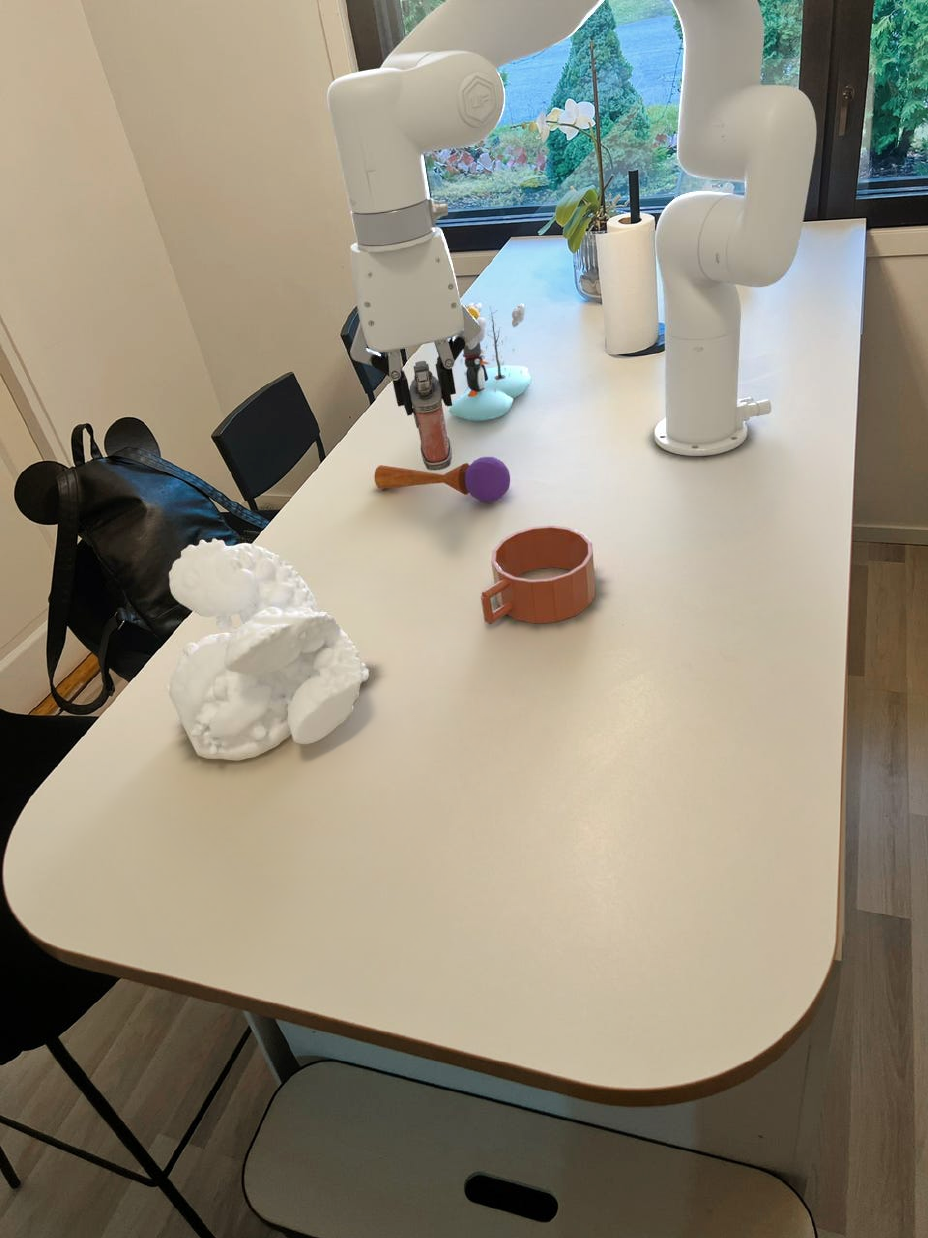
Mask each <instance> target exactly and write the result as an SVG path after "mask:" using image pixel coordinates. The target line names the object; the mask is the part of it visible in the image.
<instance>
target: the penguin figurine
mask: <svg viewBox="0 0 928 1238" xmlns="http://www.w3.org/2000/svg"><path fill="white" fill-rule="evenodd" d="M463 306H464V307H465V308H466V309H467V310H468V311H469V313H470V314H471V315H472V316H473V317H474V319H475V320H476V321H477V322H478V324H479V325H480V327H481V331H480V333H479V334H478V335H477V336H475V337H474V338H473V339H472V340H471V341H470V342H469V343H467V344H466V345H465V347H464V349H463V350H462V352H463V354H462V357H463V358H464V366H465V367H466V370H465V371H464V374H463V375H464V377H466V384H467V387H466V389H465V391H464V392H463V393H462V394H461V395H460V396H458V397H456V399H454V400H453V401H452V406H449V409H448V413H449V414H451V415H453V416H457V417H459V418H463V419H465V420H468V421H473V422H474V421H476V422H480V421H489V420H494V419H497V418H500V417H502V416H504V415H505V414H506V413H507V412H509V410H510V409H511V407H512V405H513V402H514V398H516V397H519V396H520V395H522V394H523V393H525V392H526V390H528V388H530V385H531V382H532V377H531V376H530V374H529V369H528V368H527V367H526V366H523V365H505V361H503V360H502V358H503V356H502V354H500V353H501V351H500V352H498V344H497V343H498V342H499V341H498V340H499V337H500V329H501V327H499V329H498V330H497V331H496V332H495V322H494V317H493V316H491V318H489V320H490V321H491V323H492V330H486V327H487V321H486V319H485V318H484V317H482V316H481V314H480V313H481V311H482V309H483V304H482V303H481V302H477V303H475V304H474V302H469V303H467V304H465V305H463ZM491 307H492V306H489V310H492V308H491ZM494 311H495V312H492V311H490V312H491V313H490V314H491V315H493V314H495V313H496V312H497V310H494ZM525 311H526V306H525V304H524V303H520V304H518V305H517V306H516V307H515V308H514V310H513V311H512V313H511V318H512V321H511V325H512V327H513V328H516V327H518V325H519V324H520V323H522V322H523V321H524V319H525ZM489 332H492V333H493V336H491V338H493V340H494V341H493V343H494V344H493V346H494V350H495V351H494V352H495V358H492V362H494V361H496V365H497V366H494V367H490V368H486V366H485V365H490V363H489V362H487V361H484V359H485V358H486V356H485V351H484V350H483V349H481V348H482V347H481V342H482V341H483V340H484V339H485V335H486V336H488V337H490V334H489ZM497 332H498V333H497ZM496 333H497V336H496ZM496 337H497V338H496ZM505 341H508V335H505ZM503 343H504V341H503V340H501V341H500V344H501V345H504V344H503ZM485 349H488V344H486V345H485ZM511 350H512V354H515V348H512V349H511ZM499 354H500V355H499ZM490 356H492V357H493V354H492V355H490ZM499 356H500V357H499ZM459 361H460V363H463V360H459Z"/></svg>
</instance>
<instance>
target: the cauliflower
mask: <svg viewBox="0 0 928 1238" xmlns="http://www.w3.org/2000/svg"><path fill="white" fill-rule="evenodd" d="M170 569H171V570H169V572H168V579H169V585H168V586H169V589H170V592H171V595H172V597H173V598H174V600H175V601H177V602H178V603H179V604H180V605H182V606H184V607H186V608H187V609H189V610H190V611H191V612H193V613H195V614H197V615H199V616H201V617H205V618H212V617H213V618H215V619H216V626H217V627H218V628H219V629H221V630H225V631H228V630H230V629H231V628H232V626H233V620H232V619H231V616H233V615H237V614H238V616H239V619H240V621H241V622H242V624H241V626H240V627H238V628H233V629H232V630H231V631H229V632H221V633H215V634H214V633H213V634H209V635H206V636H204V637H202V638H200V639H199V640H198V641H197V642H196V643H195V642H188V643H186V644H185V645H184V647H183V650H182V651H183V655H182V656H181V657H180V659H179V660H178V662H177V665H176V667H175V669H174V671H173V672H172V675H171V677H170V680H169V681H170V682H169V685H166V684H165V685H164V687H165V689H166V691H167V693H168V694H169V695H168V696H169V698H170V700H171V702H172V704H173V706H174V709H175V710H176V713H177V715H178V717H179V719H180V720H179V721H181V724H182V726H183V728H184V731H185V732H186V734H187V737H188V739H189V741H190V743H191V745H192V747H193V749H194V751H195V753H196V754H197V756H199V757H201V758H204V759H208V760H226V761H234V762H235V761H236V762H239V761H244V760H246V759H252V758H256V757H258V756H260V755H262V754H264V753H266V752H268V751H269V750H271V749H274V748H276V747H278V746H279V745H280V744H281V743H282V742H283V741H286V740H287V739H289V737H290V736H291V737H292V740H293V742H294V743H296V744H299V745H309V744H313V743H317V742H319V741H320V740H322V739H323V738H325V737H327V736H328V735H329V734H331V733H332V732H334V731H335V729H336V728H338V726H339V725H341V724H343V723H344V722H345V723H346V721H347V719H348V717H349V715H350V714H351V713H353V712H354V710H355V707H354V705H353V704H354V703H355V701H356V700H359V698H360V691H361V684H363V683H364V682H367V681H368V679H369V677H370V674H369V672H370V669H369V668H367V666H366V664H365V663H364V662H363V660H362V659H361V657H360V651H359V650H357V647H356V646H355V644H354V642H353V641H352V640H350V637H349V636H348V635H347V633H346V632H344V630H343V629H342V627H341V626H340V623H339V622H338V621H337V619H336V618H335V615H329V614H328V612H325V611H318V610H317V603H316V599H315V597H314V594H313V593H312V591H311V590H310V588H309V586H308V585H307V583H306V582H305V580H304V579H302V578H301V576H300V575H299V573H298V571H295V569H294V566H293V565H290V561H288V560H283V561H282V556H280V555H279V554H275V553H273V552H272V551H268V550H267V549H266V548H265V547H261V546H259V545H256V544H254V543H248V542H242V543H238V544H235V545H226V543H225V541H224V540H223V539H219V540H218V539H216V538H215V537H214V538H212V540H211V541H210V542H206V540H204V539H201V540H199V543H198V544H197V545H193V544H189V545H187V547H185V548H184V549H182V550H181V551H180V557H179V558H177V559H175V560H174V562H173V563H172V567H171V568H170Z"/></svg>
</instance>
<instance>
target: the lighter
mask: <svg viewBox="0 0 928 1238" xmlns="http://www.w3.org/2000/svg"><path fill="white" fill-rule="evenodd" d="M414 363H415V364H414V366H413V372H414V376H413V379H412V381H411V383H410V385H409V391H410V396H411V401H412V406H413V411H414V413H412V415H413V418H414V419H413V420H414V424H415V427H416V429H417V430H418V436H419V440H420V450H419V451H420V454H421V458H422V462H423V464H424V466H425V468H426V469H427V470H428V471H431V472H438V471H443V470H445V469H447V468H449V467H450V466H451V464H452V460H453V449H452V443H451V441H450V438H449V436H448V431H447V425H446V420H445V414H444V408H443V400H442V391H441V386H440V384H439V382H438V378H437V377H436V376H434V374H433V372H432V371H430V366H429V363H427V361H426V360H420V361H416V362H414Z"/></svg>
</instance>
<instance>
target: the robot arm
mask: <svg viewBox="0 0 928 1238" xmlns="http://www.w3.org/2000/svg"><path fill="white" fill-rule="evenodd" d="M604 1H605V0H445V1H444V2H442V3H441V4H440V5H439V6H437V7H436V8H435V9H434V10H432V11H431V12H430V13H429V14H428V15H427V16H425V17H424V18H423V19H422V20H421V21H420V22H419V23H418V24H417V25H416V26H415V27H414V28H413V29H412V30H411V31H410V32H409V33H408V35H406V36H405V38H403V39H402V40H401V41H400V43H398V44H397V46H396V47H395V48H394V49H393V50H392V51H391V52H390V53H389V54H388V55H387V57H386V58H385V60H384V61H383V62H382V64H381V66H380V67H379V68H374V69H373V68H372V69H367V70H361V71H357V72H353V73H348V74H346V75H343V76H340V77H338V78H335V80H333V81H332V82H331V83H330V85H329V86H328V89H327V94H326V95H327V96H326V100H327V106H328V113H329V117H330V121H331V127H332V131H333V135H334V141H335V146H336V149H337V155H338V159H339V163H340V168H341V173H342V179H343V182H344V188H345V192H346V196H347V201H348V205H349V210H350V215H351V220H352V225H353V230H354V234H355V238H356V239H355V240H356V242H354V243H353V244H351V245H350V250H349V251H350V253H349V254H350V269H351V278H352V286H353V292H354V297H355V303H356V308H357V309H356V310H357V314H358V319H359V322H358V326H357V329H356V332H355V335H354V338H353V342H352V344H351V347H350V351H349V353H350V357H351V359H352V360H353V361H356V362H359V363H361V364H365V365H369V366H372V367H373V368H375V369H376V370H378V371H380V372H381V373H382V374H384V375H386V376H387V377H389V378H390V379H391V382H392V385H393V390H394V394H395V395H394V396H395V400H396V404H397V407H404V411H405V413H406V415H407V416H412V415H413V413H414V411H413V406H412V401H411V396H410V385H409V382H408V378H407V375H406V373H405V371H404V370H403V367H402V363H401V362H402V361H401V360H402V359H401V350H404V349H408V348H412V347H413V348H414V347H417V346H423V345H427V344H431V343H434V346H435V350H436V353H437V355H438V356H437V358H436V363H435V364H434V365H435V371H436V375H437V380H438V382H439V384H440V386H441V391H442V403H443V404H444V406H445V407H447V408H448V407H451V406H452V403H453V401H452V395H456V394H457V391H456V390H457V389H456V384H455V378H454V372H453V367H454V366H455V362H456V360H457V359H458V357H459V356H460V354H461V353H462V352H463V349H464V347H465V345H466V344H467V343H469V342H470V341H471V340H472V339H473V338H474V337H475V336H477V335H478V334H479V333H480V331H481V327H480V325H479V324H478V322H477V321H476V320H475V319H474V317H473V316H472V315H471V314H470V313H469V311H468V310H467V309H466V308H465V307H464V306H465V305H464V304H463V303H462V301H461V296H460V290H459V287H458V283H457V278H456V277H457V276H456V273H455V269H454V266H453V261H452V258H451V255H450V249H449V248H448V244H447V240H446V238H445V236H444V233H443V230H442V228H440V227H438V226H437V225H436V223H437V222H438V220H439V219H441V217H444V216H448V215H449V209H448V203H447V201H446V200H445V199H443V200H438V199H436V200H434V198H432V197H431V196H430V190H429V182H428V178H427V177H428V176H427V171H426V165H425V158H424V157H425V156H424V155H425V154H426V153H429V152H434V151H443V150H452V149H462V148H468V147H471V146H474V145H476V144H479V143H480V142H482V141H484V140H485V139H486V138H488V137H489V136H490V135H491V133H493V132H494V130H495V129H496V128H497V126H498V125H499V123H500V121H501V119H502V116H503V113H504V110H505V104H506V91H505V86H504V82H503V79H502V77H501V75H500V73H499V71H498V69H499V68H501V67H502V66H505V65H506V64H509V63H512V62H514V61H515V62H516V61H518V60H520V59H524V58H526V57H527V58H528V57H529V56H532V55H535V54H538V53H540V52H543V51H545V50H546V49H549V48H552V47H553V46H555V45H557V44H559V43H561V42H563V41H565V40H566V39H568V38H569V37H571V36H572V35H573V34H575V32H577V31H578V29H579V28H581V26H582V25H583V24H584V23H585V22H586V21H587V20H588V18H590V17H591V15H592V14H594V12H595V11H596V10H597V9H598V8H599V7H600V6H601V4H602V3H603V2H604ZM670 2H671V3H672V5H673V7H674V9H675V11H676V13H677V16H678V19H679V21H680V26H681V30H682V34H683V65H682V76H681V88H680V98H679V109H678V122H677V134H676V156H677V162H678V164H679V166H680V168H681V170H682V171H684V172H685V173H686V174H687V175H689V176H691V177H694V178H698V179H704V180H712V181H723V182H734V183H735V182H736V183H744V195H742V194H738V193H728V192H727V193H726V192H718V191H717V192H715V191H693V192H688V193H685V194H681V195H680V196H678V197H676V198H674V199H673V200H672V201H670V202H669V203H668V204H667V205H666V206H665V208H664V209H663V210H662V212H661V213H660V216H659V218H658V220H657V224H656V228H655V233H654V234H655V235H654V236H655V237H654V243H655V244H654V245H655V253H656V259H657V264H658V268H659V273H660V277H661V284H662V290H663V292H662V293H663V303H664V305H663V308H664V310H663V311H664V378H665V379H664V381H665V382H664V385H665V387H664V389H665V390H664V392H665V393H664V394H665V395H664V397H665V401H664V402H665V403H664V404H665V418H663V419H662V420H661V421H659V423H658V424H657V425H656V426H655V428H654V441H655V443H656V444H657V445H658V446H659V447H660V449H661V448H662V449H663V450H665V451H667V452H669V453H673V454H675V455H681V456H687V457H706V456H714V455H718V454H722V453H726V452H729V451H731V450H734V449H736V448H738V447H739V446H741V445H742V444H743V443H744V442H745V440H746V439H747V437H748V424H747V422H746V421H749V420H750V418H753V417H759V416H763V415H769V414H771V412H772V404H771V402H770V400H769V399H763V400H759V401H755V400H754V398H753V397H752V396H749V397H744V398H741V399H738V389H739V369H740V368H739V367H740V366H739V365H740V342H741V322H742V319H741V318H742V308H741V301H740V295H739V292H738V289H737V286H742V287H748V288H765V287H769V286H772V285H774V284H776V283H777V282H779V281H781V280H782V279H783V278H784V276H785V275H786V274H787V273H788V271H789V270H790V268H791V266H792V264H793V262H794V260H795V258H796V254H797V252H798V248H799V244H800V240H801V234H802V229H803V224H804V219H805V212H806V206H807V200H808V195H809V188H810V182H811V177H812V171H813V165H814V159H815V151H816V144H817V120H816V113H815V110H814V107H813V105H812V102H811V100H810V99H809V97H808V96H807V95H806V94H805V92H803V91H802V90H800V89H799V88H797V87H794V86H790V85H785V84H762V82H761V80H762V79H761V78H762V67H763V66H762V64H763V55H764V54H763V53H764V43H765V24H764V18H763V14H762V10H761V6H760V3H759V0H670ZM736 285H737V286H736ZM448 339H449V340H448ZM367 347H368V348H367ZM383 353H385V355H384V354H383Z"/></svg>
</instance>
